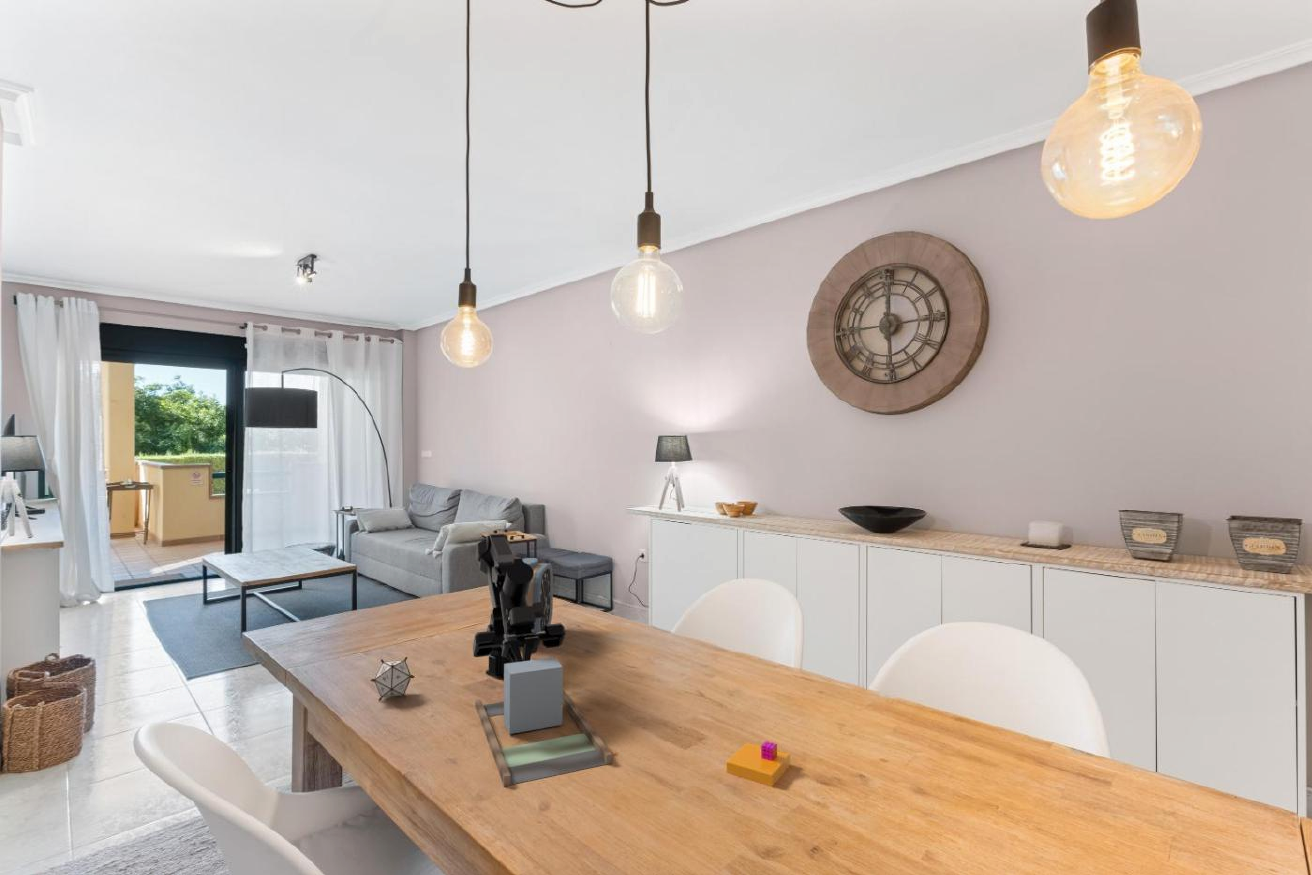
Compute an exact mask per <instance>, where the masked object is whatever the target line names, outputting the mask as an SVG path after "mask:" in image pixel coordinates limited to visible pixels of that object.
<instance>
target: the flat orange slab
mask: <svg viewBox="0 0 1312 875" xmlns="http://www.w3.org/2000/svg"><path fill="white" fill-rule="evenodd" d="M790 766H791V754H789V753H786V752H782V751H778V743H775V742H771V741H767V740H766V741H764V742H763V743H762V744H761V746H760V745H757V744H753V743H749V742H745V744H744V745H742V746H741V747H740V748H739V749H738V751H736V752H735V753H734V754H733V755H732V756H731V757H730V758H729V759H728V760H727V761H726V773H727V774H730V775H734V776H737V777H739V778H743V779H746V780H749V781H753V782H755V783H759V784H762V785H766V786H768V787H772V788H773V787H774V786H775V784H776V783H777V782H778V781H779V779H780V778H781V777H782V776H783V775H784V773H785V772H786V771H787V770H788V769H789V767H790Z"/></svg>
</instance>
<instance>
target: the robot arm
mask: <svg viewBox="0 0 1312 875" xmlns="http://www.w3.org/2000/svg"><path fill="white" fill-rule="evenodd" d="M510 545H511V544H510V540H509V539H508V535H507V534H505V533H492V534H490V533H489V535H486V537H485V539H483V540H481V541H479V542H477V543H476V548H475V551H474V552H475V562H477V564H478V568H479V570H480V571H481V572H482V573H483V574H485V575H486V577H487V582H488V587H489V594H490V599H491V605H492V609H491V614H490V618H489V624H487V629H486V631H479V632H477V633H476V634H475V635H474V640H473V642H472V644H473V645H472V652H473V657H474V658H482V657H488V670H485V673H486V674H487V675H490V676H492V677H496V678H498V679H500V680H504V664H508V663H515V662H523V661H530V660H532V654H536V652H537V651H538V649H539V645H540V643H541V642H542V646H543V647H544V648H546V649H550V648H551V649H552V648H553V649H554V648H559V647H561V646H562V644H563V642H564V640H565V636H566V632H567V631H566V627H565V626H564V625H563V624H562V623H561V622H560V623H551V624H548V625H545V628H544V631H543V632H534V633H533V632H532V629H534V627H535V623H534V622H536V619H541V618H542V617H543V616H544V608H543V604H542V602H537V603H534V604H533V605H532V606H528V603H527V597H526V595H527V594H528V593H529V590H530V586H531V582H532V579H533V575H534V571H533V569H532V568H531V566H530V565H528V564H526V563H524V561H523V560H522V559H523V558H521V556H517V555H514V554H513V551H512V549H511V546H510ZM539 642H540V643H539ZM521 648H523V649H522V651H521Z"/></svg>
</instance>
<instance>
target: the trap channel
mask: <svg viewBox="0 0 1312 875" xmlns="http://www.w3.org/2000/svg"><path fill="white" fill-rule="evenodd" d="M474 701H475V702H474V703H475V705H474V706H475V710H476V713H477V715H478V718H479V721H480V724H481V726H482V729H483V733H484V735H485V737H486V740H487V743H488V746H489V748H490V750H491V754H492V756H493V759H494V763H495V765H496V767H497V771H498V773H499V776H500V779H501V782H502V785H503V787H507V786H512V785H515V784H516V785H517V784H520V783H527V782H530V781H535V780H541V779H545V778H549V777H554V776H559V775H564V774H567V773H572V772H578V771H581V770H585V769H586V770H587V769H590V768H596V767H600V766H606V765H610V764H612V763H613V754H612V752H611V751H610V749H609V748H608V746H606V744H605V742H604V741H603V740H602V739H601V738H600V736H599V735H598V734H597V733H596V731H595V730H594V728H593V727H592V725H591V724H590V723H589V721H588V720H587V719H586V718H585V716H584V715H583V714H582V712H581V710H579V708H578V707H577V706H576V704H575V703H574V702H573V700H572V699H571V698H570V696H569V695H568V693H566V691H565V690H564V688H563V687H562V705H563V706H564V707H565V709H566V710H567V711H568V712H569V714H570V715H571V717H572V718H573V720H574V721H575V723H576V724H577V725H578V726H579V728H580V729H581V731H582V732H583V733H582V732H581V733H578V734H572V735H566V736H561V737H556V738H552V739H551V738H550V739H545V740H540V741H535V742H529V743H525V744H524V743H523V744H518V745H515V746H508V747H503V748H501V747H500V744H499V742H498V740H497V737H496V734H495V732H494V729H493V727H492V724H491V722H490V719H489V718H488V717H492V716H493V717H494V716H499V715H504V701H499V702H495V703H494V702H493V703H488V704H487V703H486V704H483V702H482V699H481V698H479V697H478V698H475V700H474Z"/></svg>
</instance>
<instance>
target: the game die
mask: <svg viewBox="0 0 1312 875" xmlns="http://www.w3.org/2000/svg"><path fill="white" fill-rule="evenodd" d="M407 660H408V656H406V657H404V659H403V660H402V659H401V660H391V661H384V659H383V658H380V662H381V663H382V664H381V665H380V667H379V668H378V671H377V673H376V675H375V677H374V678H371V679H370V682H373V683H374V684H375V687H376V688H377V691H378V693H379V696H380V697H379V698H378V702H380V701H382V699H383V698H391V697H398V696H402V697H403V698H404V699H407V695H406V691H407V689H408V687H409V684H410V681H411V680H412V679H414V678H416V676H415V675H414V674H411V671H410V669H409V666H408V664H407Z"/></svg>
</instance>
